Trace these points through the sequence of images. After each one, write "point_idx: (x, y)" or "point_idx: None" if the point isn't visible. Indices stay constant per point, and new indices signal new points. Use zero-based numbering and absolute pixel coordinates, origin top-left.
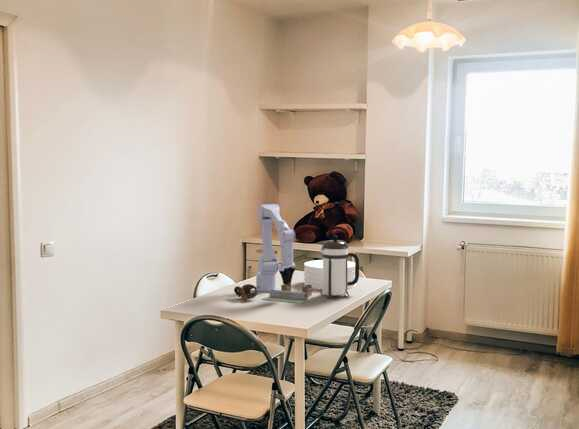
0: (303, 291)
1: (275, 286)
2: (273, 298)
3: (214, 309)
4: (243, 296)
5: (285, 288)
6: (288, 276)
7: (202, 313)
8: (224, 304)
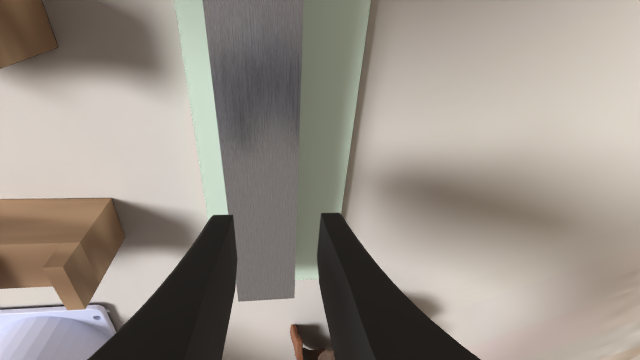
0: (5, 38)
1: (5, 341)
2: (312, 227)
3: (567, 333)
4: (318, 353)
5: (87, 250)
6: (402, 306)
7: (629, 333)
8: (475, 343)
